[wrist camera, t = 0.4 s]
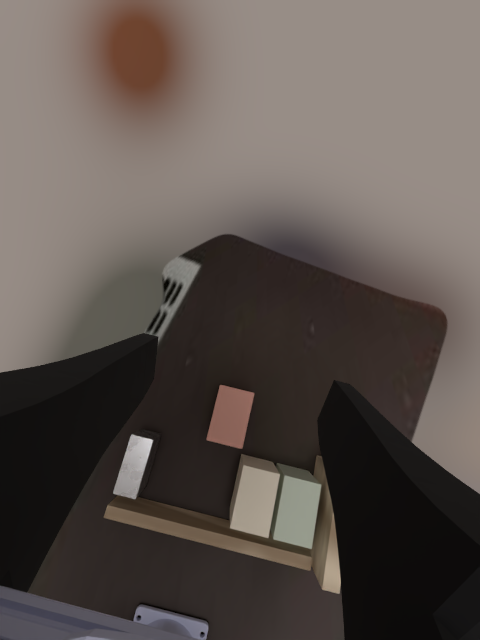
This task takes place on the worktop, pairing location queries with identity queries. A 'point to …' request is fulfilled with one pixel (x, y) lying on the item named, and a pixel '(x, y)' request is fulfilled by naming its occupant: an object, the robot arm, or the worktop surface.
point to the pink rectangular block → (230, 416)
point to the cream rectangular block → (254, 496)
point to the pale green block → (295, 506)
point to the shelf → (223, 536)
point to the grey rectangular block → (137, 463)
